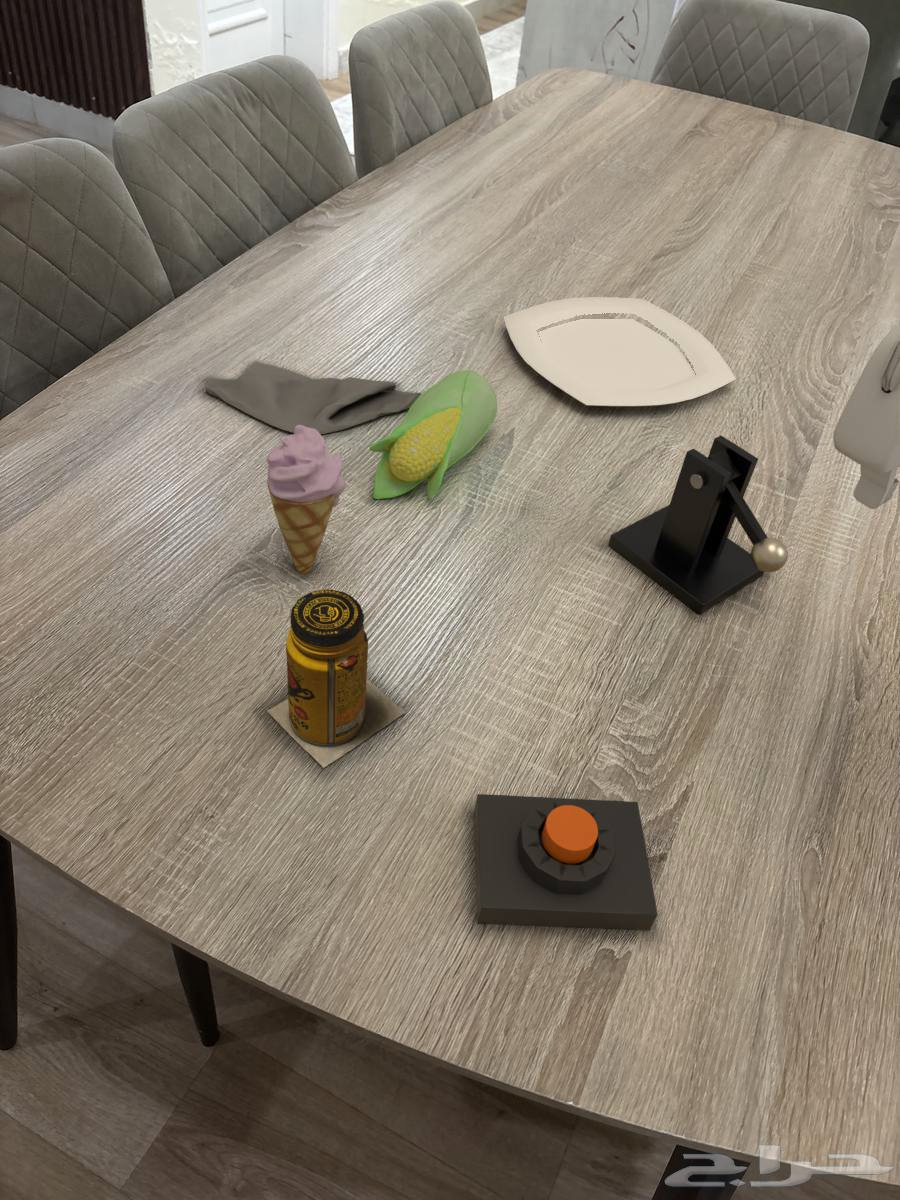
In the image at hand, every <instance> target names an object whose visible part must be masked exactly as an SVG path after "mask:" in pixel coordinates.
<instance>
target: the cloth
mask: <svg viewBox="0 0 900 1200" xmlns="http://www.w3.org/2000/svg"><path fill="white" fill-rule="evenodd" d="M397 384H398V382H396V381H387V380H385V381H384V380H372V379H364V378H358V377H352V376H348V377H345V378H343V379H342V378H341V379H340V378H335V377H324V378H323V377H322V378H311V377H308V376H306V375H303V374H300V373H298V372H295V371H292V370H289V369H285V368H282V367H278V366H275V365H271V364H267V363H262V362H258V361H255V362H253V363H252V365H251V366H250V367H249V368H248V370H247V371H246V372H245V374H241V375H240V376H238V377H236V378H234V379H226V378H213V377H211V378H209V379H208V380H207V384H206V386H204V390H206V392H207V394H209V395H212V396H214V397H216V398H218V399H220V400H222V401H224V402H225V403H227V404H229V406H230V405H231V406H232V407H235V408H236V409H238V410H239V411H241V412H243V413H245V414H247V415H249V416H251V417H253V418H255V419H257V420H259V421H262V422H264V423H266V424H267V425H270V426H272V427H276V428H278V429H280V430H283V431H286V432H290V433H293V434H294V428H295V427H296V426H297V425H303V426H305V427H308V428H313V429H316V430H317V431H318V432H319V433H320V435H324V434H329V433H334V432H339V431H343V430H346V429H348V428H349V429H350V428H352V427H354V426H355V427H356V426H358V425H361V424H364V423H367V422H370V421H372V420H375V419H378V418H380V417H384V416H387V415H391V414H394V413H398V412H402V411H405V410H407V409H408V410H409V409H410V407H411V406H412V405H413V403H414V402H415V401H416V400H417V399H418V397H419V396H420V395H421V394H422V393H421V392H409V391H401V390H394V389H396V387H397Z"/></svg>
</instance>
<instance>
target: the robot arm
mask: <svg viewBox="0 0 900 1200" xmlns="http://www.w3.org/2000/svg"><path fill="white" fill-rule="evenodd" d="M832 437H833V439H832V440H833V445H834V449H835V450H836V451H837V452H838V453H840V454H841V455H843V456H845V457H847V458H848V459H850V460H852V461H853V462H855V463H856V464H858V465H860V476H859V479H858V481H857V483H856V486H855V488H854V490H853V497H854V500H856V501H857V502H859V503H860V504H862V505H864V506H865V507H867V508H869V509H871V510H876V509H878V508H879V507H881V506H883V505H884V504H886V503H887V502H888V501H890V500H892V499H891V498H892V497H893V494H894V492H895V491H896V489H897V487H898V485H899V483H900V480H898V479H897V478H896V477H897V474H898V473H897V472H898V469H899V468H900V324H898V325H897V326H895V327H894V328H892V329H891V330H890V331H888V333H887V334H886V335H885V336H884V337H883V338H882V340H881V341H880V342H879V343H878V345H877V346H876V348H875V349H874V350H873V352H872V354H871V356H870V357H869V359H868V361H867V363H866V365H865V366H864V368H863V370H862V372H861V374H860V376H859V378H858V380H857V381H856V384H855V386H854V388H853V390H852V392H851V394H850V396H849V398H848V400H847V401H846V404H845V406H844V408H843V410H842V412H841V414H840V415H839V418H838V421H837V423H836V425H835V427H834V430H833V436H832Z"/></svg>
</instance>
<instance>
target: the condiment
mask: <svg viewBox="0 0 900 1200" xmlns="http://www.w3.org/2000/svg"><path fill="white" fill-rule="evenodd" d="M289 618H290V621H289V622H290V628H289V631H288V634H287V637H286V643H285V656H286V673H287V674H286V675H287V699H284V700H283V701H281V702H279V703H278V704H277V705H275V706H273V707H271V708H270V709H267V710H266V712H267V713H268V715H270V716H271V717H272V718H273V719H274V720H275V722H277V723H278V724H279V725H280V727H281V728H282V729H283V730H284V731H285V732H287V734H288V735H289V736H290V737H291V738H292V739H293V740H294V741H295V742H296V743H297V744H298V745H300V747H301V748H302V749H303V750H304V751H305V752H306V753H308V755H309V756H311V757H312V758H313V759H314V760H315V761H316V762H317V764H319V765H320V766H321V768H323V769H325V768H326V767H327V766H329V765H331V764H332V763H333V762H336V761H337V760H338V759H340V758H342V757H343V756H344V755H346V754H347V753H349V752H350V751H352V750H353V749H355V748H357V746H360V745H361V744H362V743H364V742H366V740H368V739H369V738H370V737H372V736H373V735H374V734H376V733H378V732H379V731H381V730H382V729H384V728H386V727H387V726H389V725H390V724H391V723H393V722H394V721H395V720H396V719H397V718H399V717H401V716H402V715H404V714H406V711H405V710H404V709H403V708H402V707H401V706H400V705H398V704H396V702H395V701H393V700H392V699H391V698H390V697H389V696H388V695H386V694H385V693H384V692H382V690H380V689H379V688H378V687H377V686H376V685H375V684H374V683H372V682H371V681H370V680H369V678H367V677H368V676H367V675H368V658H369V657H368V656H369V640H368V639H369V638H368V635H367V633H366V630H365V625H364V622H365V614H364V611H363V607H362V605H361V604H360V603H359V602H358V601H357V599H355V598H354V597H353V596H352V595H350V594H348V593H346V592H345V591H340V590H335V589H319V590H313V591H311V592H309V593H306V594H304V595H303V596H301V597H299V598H298V599H297V601H296V602H295V604H294V605H293V606H292V608H291V611H290V616H289Z"/></svg>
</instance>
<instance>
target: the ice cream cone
mask: <svg viewBox="0 0 900 1200" xmlns="http://www.w3.org/2000/svg"><path fill="white" fill-rule="evenodd" d="M280 441H281V444H280V445H278V446H275V447H273V449H271V450H270V451H269V453H268V455H267V458H266V462H267V464H268V467H267V481H266V484H267V489H268V493H269V496H270V500H271V504H272V507H273V511H274V514H275V517H276V520H277V524H278V527H279V529H280V532H281V534H282V537H283V540H284V542H285V545H286V547H287V550H288V552H289V555H290V557H291V559H292V562H293V564H294V567H295V569H296V570H295V571H296V572H297V573H299V574H301V575H305V574H309V573H310V572H311V571H312V569H313V566H314V564H315V560H316V557H317V556H318V553H319V550H320V548H321V545H322V542H323V539H324V536H325V533H326V531H327V528H328V524H329V521H330V518H331V514H332V511H333V508H334V507H335V508H336V507H337V506H338V505H339V503H340V496H341V495H342V494H343V493H344V491H345V490H346V487H347V483H346V480H345V477H344V476H343V474H342V473H341V471H342V470H343V453H342V451H339V452H336V453H335V454H332V453H331V452H330V451H329V450H328V448H326V446H327V445H326V443H327V442H326V440H325V438H324V437H323V436H322V434H320V433H319V432H318V431H317V430H316V429H313V428H308V427H305V426H303V425H297V426H296V427H295V428H294V433H293V434H289V435H282V436H281V437H280Z"/></svg>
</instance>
